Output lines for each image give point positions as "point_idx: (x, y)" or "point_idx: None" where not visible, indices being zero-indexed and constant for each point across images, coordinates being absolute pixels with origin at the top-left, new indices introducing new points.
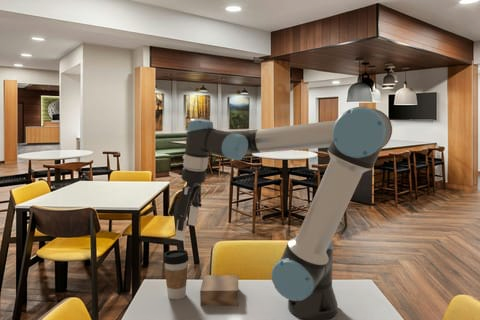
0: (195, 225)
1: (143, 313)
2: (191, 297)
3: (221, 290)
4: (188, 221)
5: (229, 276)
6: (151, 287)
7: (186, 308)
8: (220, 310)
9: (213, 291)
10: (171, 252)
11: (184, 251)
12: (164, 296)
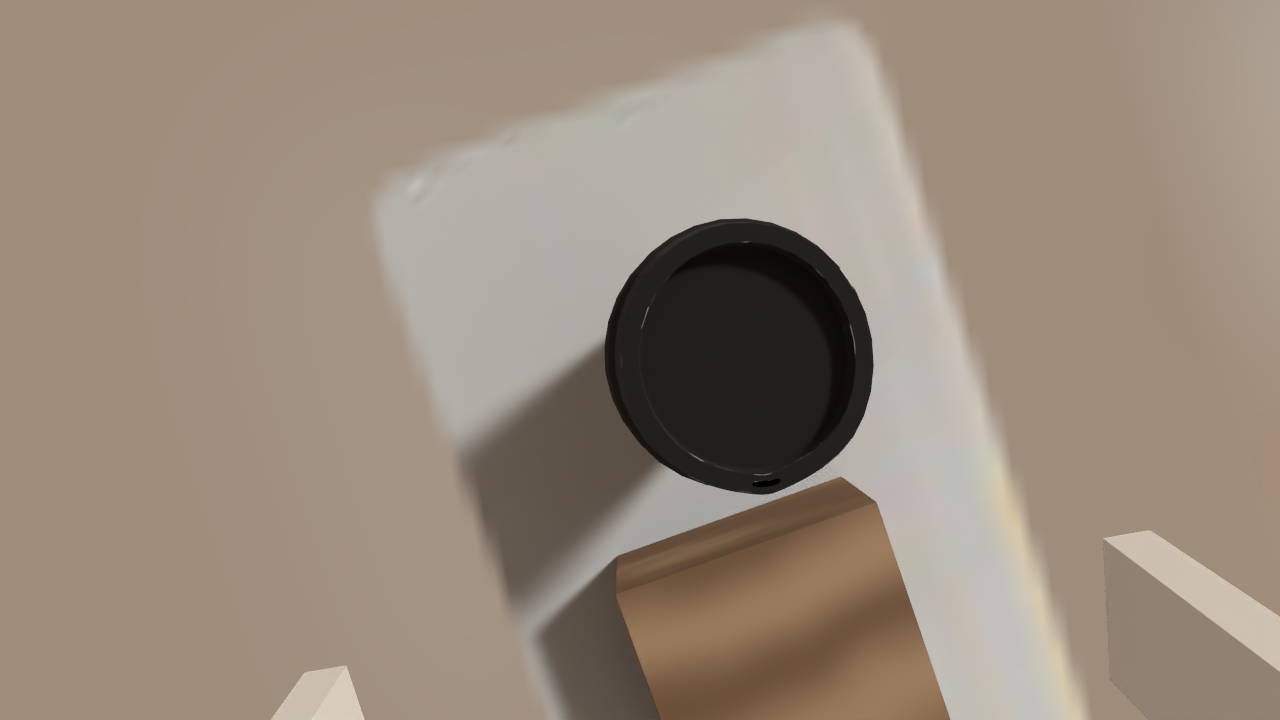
0: (1116, 683)
1: (411, 269)
2: None
3: None
4: (1150, 574)
5: (918, 699)
6: (748, 107)
7: (558, 489)
8: (605, 694)
9: (648, 680)
10: (803, 265)
11: (835, 421)
12: None
